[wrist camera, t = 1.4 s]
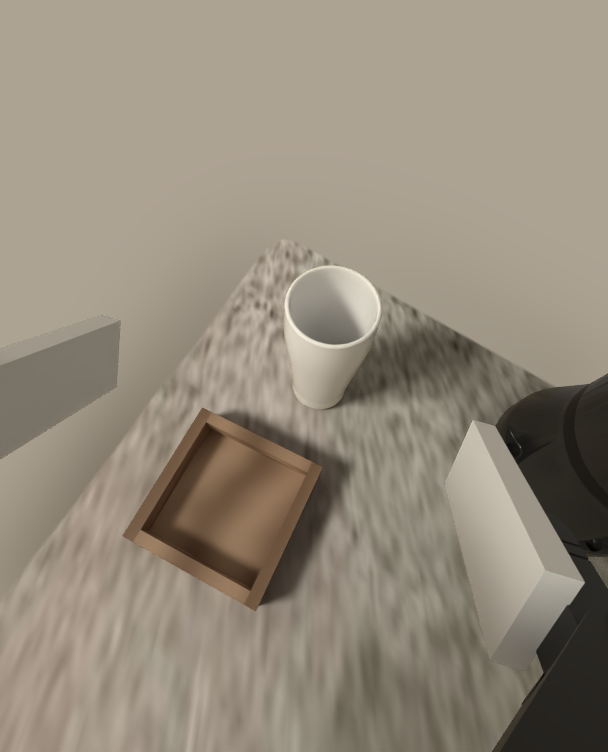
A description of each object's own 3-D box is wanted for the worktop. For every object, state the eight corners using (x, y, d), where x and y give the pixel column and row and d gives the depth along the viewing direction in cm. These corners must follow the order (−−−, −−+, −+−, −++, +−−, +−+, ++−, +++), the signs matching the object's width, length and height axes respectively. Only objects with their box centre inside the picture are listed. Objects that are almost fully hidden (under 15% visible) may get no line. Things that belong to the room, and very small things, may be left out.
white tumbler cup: (312, 344, 43) (323, 247, 29) (365, 381, 42) (403, 298, 28) (271, 391, 41) (262, 310, 27) (325, 432, 39) (345, 368, 26)
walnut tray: (320, 473, 38) (322, 467, 35) (258, 606, 34) (255, 611, 31) (208, 417, 40) (202, 407, 37) (135, 537, 35) (122, 535, 32)
